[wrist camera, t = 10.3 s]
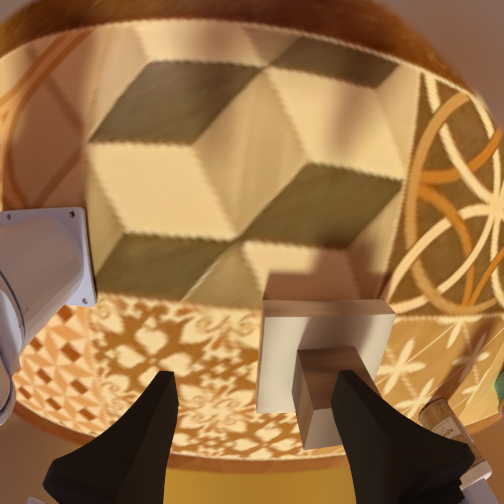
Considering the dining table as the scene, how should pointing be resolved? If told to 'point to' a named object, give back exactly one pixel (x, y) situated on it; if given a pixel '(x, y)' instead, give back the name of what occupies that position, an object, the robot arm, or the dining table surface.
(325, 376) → the walnut block
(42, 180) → the dining table surface
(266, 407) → the birch block
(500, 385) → the cupcake
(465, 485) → the sprinkles bottle
